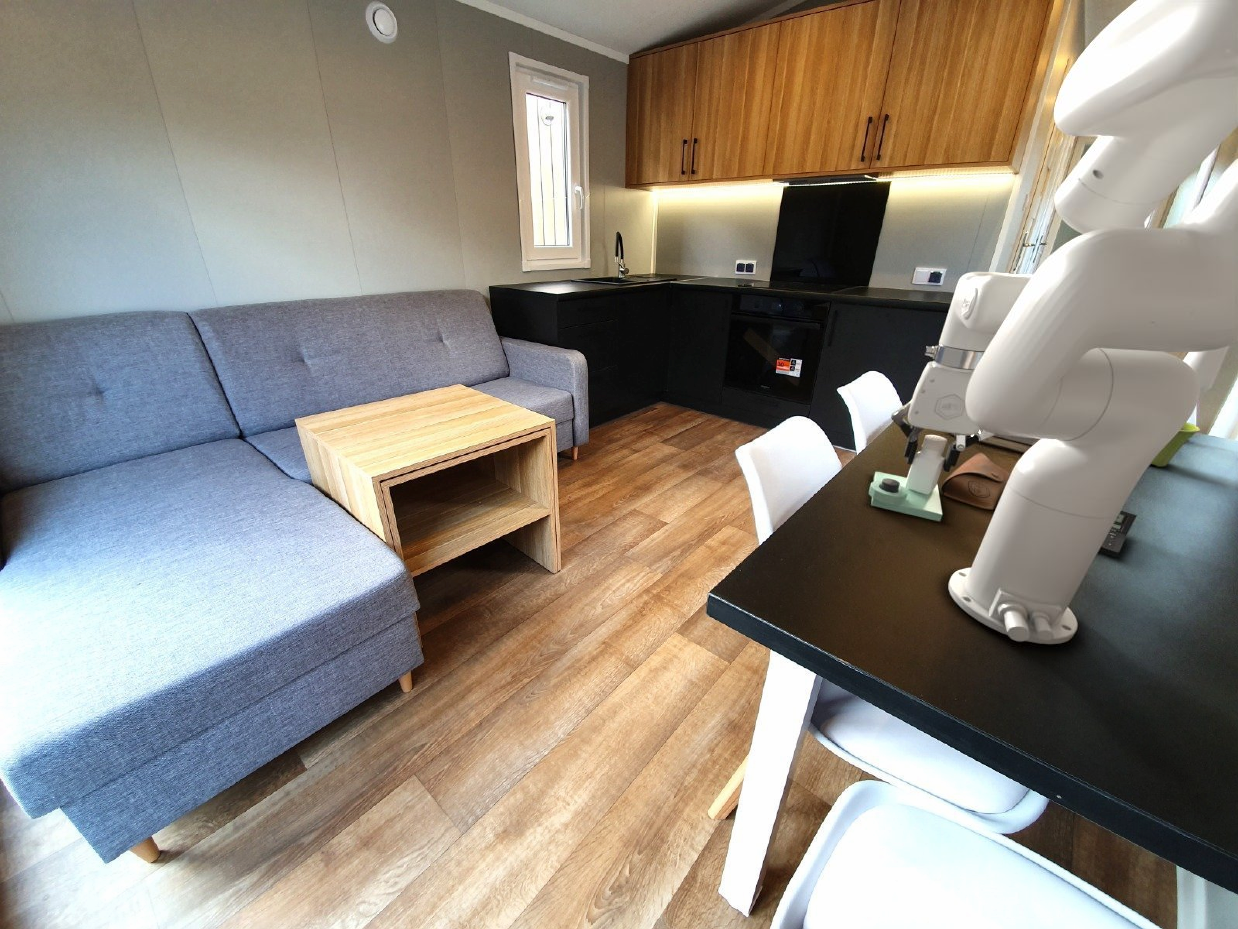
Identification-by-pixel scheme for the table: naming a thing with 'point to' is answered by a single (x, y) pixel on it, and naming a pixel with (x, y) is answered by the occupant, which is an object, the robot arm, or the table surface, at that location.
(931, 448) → the pepper shaker
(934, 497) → the scale
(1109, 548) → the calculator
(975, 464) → the sunglasses case
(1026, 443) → the hardcover book
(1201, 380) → the champagne flute
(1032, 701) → the table surface
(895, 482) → the tare button
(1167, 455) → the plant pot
